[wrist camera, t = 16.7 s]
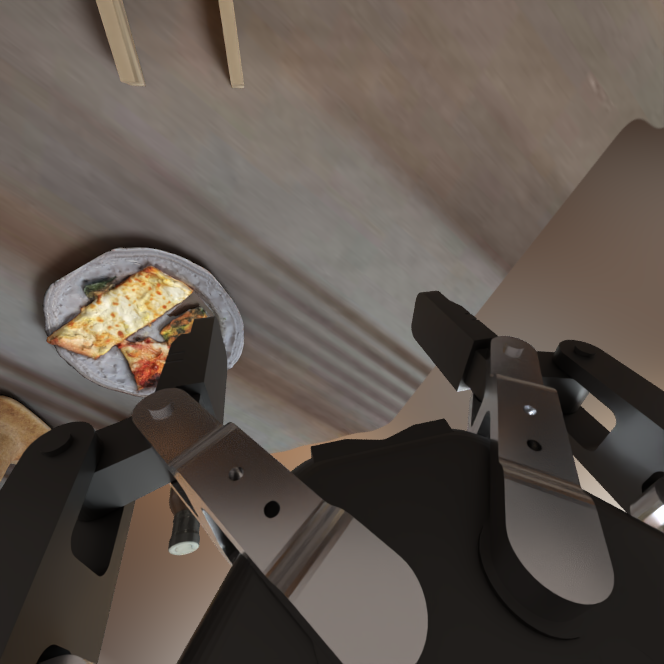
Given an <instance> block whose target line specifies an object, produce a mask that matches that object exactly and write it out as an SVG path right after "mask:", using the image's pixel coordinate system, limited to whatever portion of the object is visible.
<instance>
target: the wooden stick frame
mask: <svg viewBox="0 0 664 664" xmlns="http://www.w3.org/2000/svg"><path fill="white" fill-rule="evenodd" d="M96 3H97V6H98V9H99V12H100V16H101V19H102V22H103V25H104V29H105V32H106V35H107V38H108V41H109V45H110V48H111V51H112V54H113V58H114V61H115V64H116V67H117V71H118V74H119V77H120V80H121V82H124V83H126V84H129V85H132V86H146V85H145V81H144V78H143V74H142V70H141V67H140V63H139V60H138V56H137V52H136V49H135V45H134V41H133V38H132V34H131V31H130V27H129V23H128V20H127V16H126V12H125V9H124V5H123V2H122V0H96ZM219 7H220V14H221V20H222V27H223V34H224V40H225V47H226V54H227V60H228V67H229V74H230V80H231V85H232V88H244V82H243V74H242V67H241V59H240V51H239V44H238V36H237V28H236V21H235V13H234V6H233V0H219Z"/></svg>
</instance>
